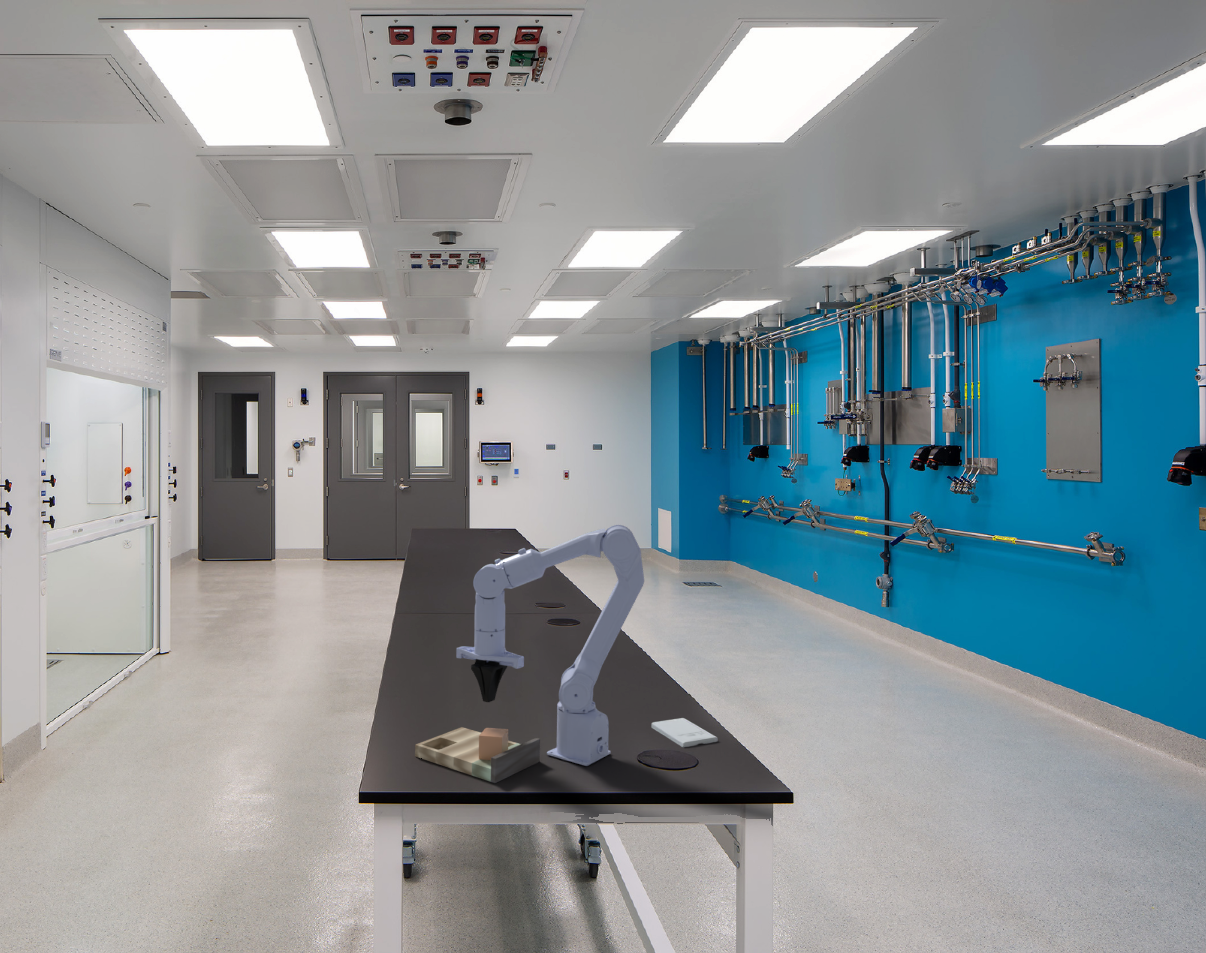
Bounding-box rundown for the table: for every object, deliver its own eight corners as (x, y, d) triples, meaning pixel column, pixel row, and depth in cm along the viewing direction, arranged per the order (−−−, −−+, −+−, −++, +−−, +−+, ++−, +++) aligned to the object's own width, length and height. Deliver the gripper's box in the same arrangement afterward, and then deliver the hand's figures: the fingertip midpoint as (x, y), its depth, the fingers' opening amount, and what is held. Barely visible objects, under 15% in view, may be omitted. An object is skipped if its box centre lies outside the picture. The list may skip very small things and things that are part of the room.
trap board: (539, 761, 142) (540, 739, 142) (495, 783, 132) (495, 759, 132) (461, 738, 154) (461, 717, 154) (415, 756, 144) (415, 734, 144)
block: (507, 752, 141) (508, 729, 141) (501, 761, 137) (501, 737, 137) (485, 750, 141) (485, 727, 141) (478, 759, 137) (479, 735, 137)
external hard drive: (684, 725, 165) (717, 744, 154) (651, 730, 162) (682, 750, 151) (684, 717, 165) (717, 736, 154) (651, 722, 162) (682, 741, 151)
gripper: (533, 629, 146) (532, 701, 146) (473, 620, 153) (472, 689, 153) (511, 636, 139) (510, 711, 140) (449, 627, 147) (448, 698, 147)
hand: (488, 700), depth 146 cm, fingers closed
